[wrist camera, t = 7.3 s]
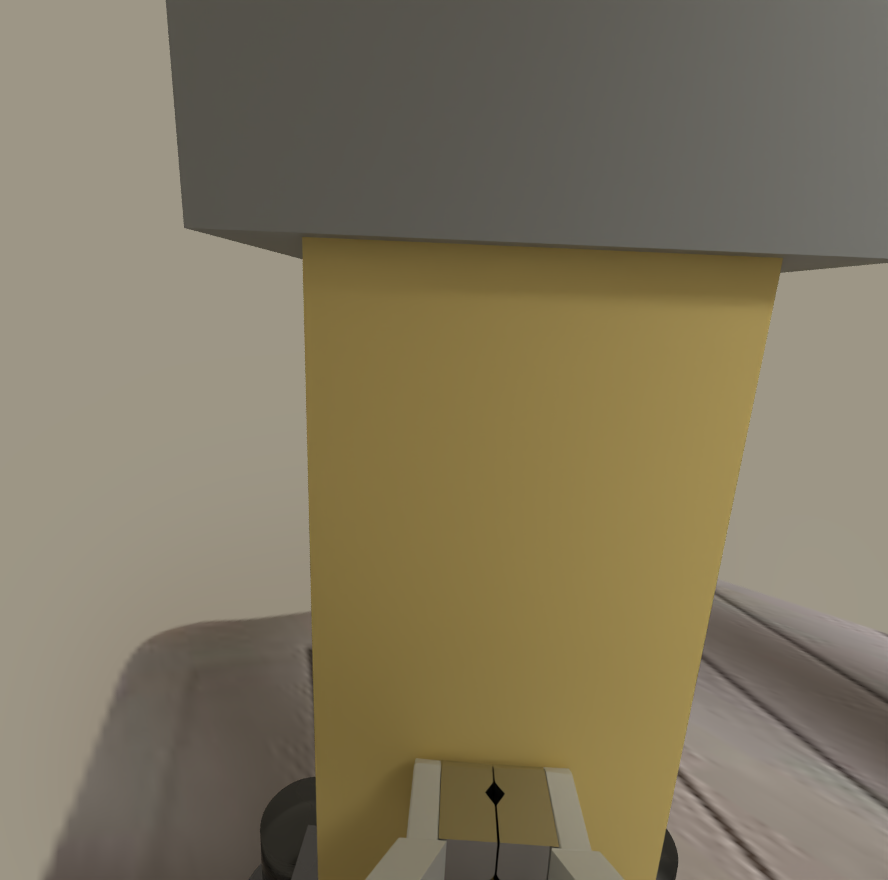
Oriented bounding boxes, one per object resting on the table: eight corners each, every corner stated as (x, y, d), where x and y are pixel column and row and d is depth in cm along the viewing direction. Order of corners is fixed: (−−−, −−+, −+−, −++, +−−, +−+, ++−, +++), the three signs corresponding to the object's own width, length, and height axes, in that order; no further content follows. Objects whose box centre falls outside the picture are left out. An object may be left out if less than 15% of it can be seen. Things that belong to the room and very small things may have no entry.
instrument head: (335, 785, 20) (325, -24, 13) (597, 804, 20) (724, -12, 13) (253, 1094, 12) (125, -497, 5) (683, 1131, 12) (1120, -488, 5)
